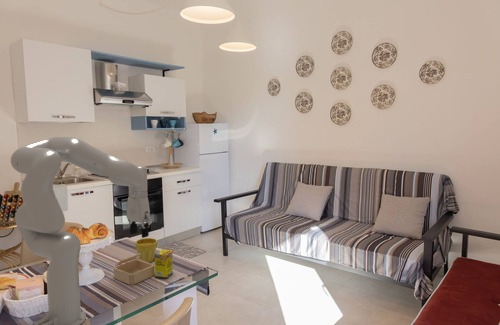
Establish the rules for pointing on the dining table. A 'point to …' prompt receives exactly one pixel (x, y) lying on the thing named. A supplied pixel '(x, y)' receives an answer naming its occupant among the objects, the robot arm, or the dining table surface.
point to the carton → (134, 271)
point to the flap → (127, 259)
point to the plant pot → (146, 248)
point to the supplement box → (163, 264)
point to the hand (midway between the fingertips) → (139, 234)
